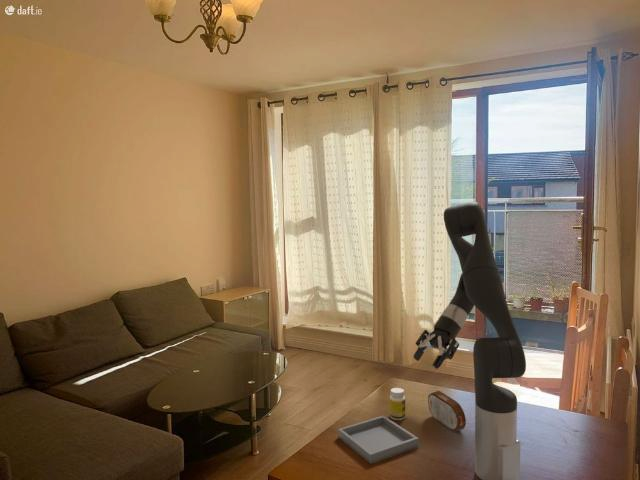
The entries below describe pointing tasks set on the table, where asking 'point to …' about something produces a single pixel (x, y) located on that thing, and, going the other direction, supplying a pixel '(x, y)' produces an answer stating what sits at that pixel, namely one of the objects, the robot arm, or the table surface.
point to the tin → (446, 411)
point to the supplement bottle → (397, 404)
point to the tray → (378, 439)
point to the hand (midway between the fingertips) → (425, 363)
